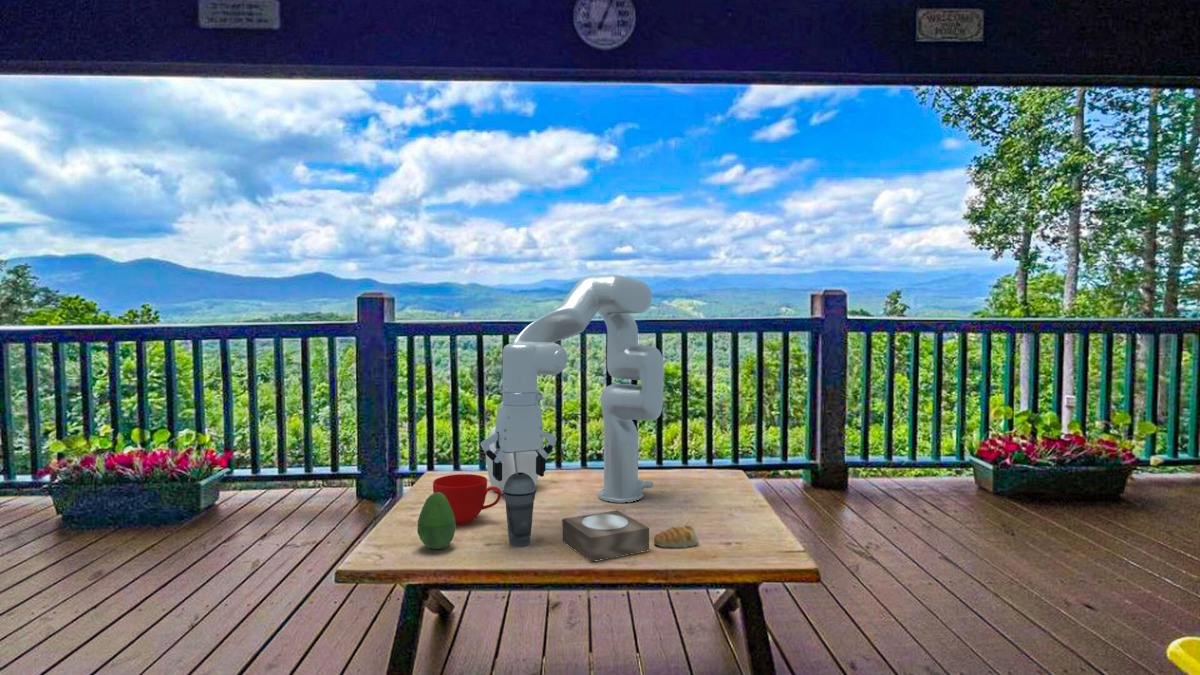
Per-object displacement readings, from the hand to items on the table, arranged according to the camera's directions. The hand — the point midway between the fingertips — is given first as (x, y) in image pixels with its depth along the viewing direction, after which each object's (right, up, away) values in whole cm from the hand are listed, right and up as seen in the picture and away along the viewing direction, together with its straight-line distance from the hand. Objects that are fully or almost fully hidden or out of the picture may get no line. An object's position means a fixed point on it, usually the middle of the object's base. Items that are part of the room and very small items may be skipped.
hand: (519, 477), depth 138 cm
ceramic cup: (-15, -14, +15) cm, 26 cm away
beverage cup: (0, -15, 0) cm, 15 cm away
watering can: (-7, -14, +43) cm, 46 cm away
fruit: (-17, -15, -3) cm, 23 cm away
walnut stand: (+19, -15, -1) cm, 24 cm away
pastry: (+35, -15, +1) cm, 38 cm away
